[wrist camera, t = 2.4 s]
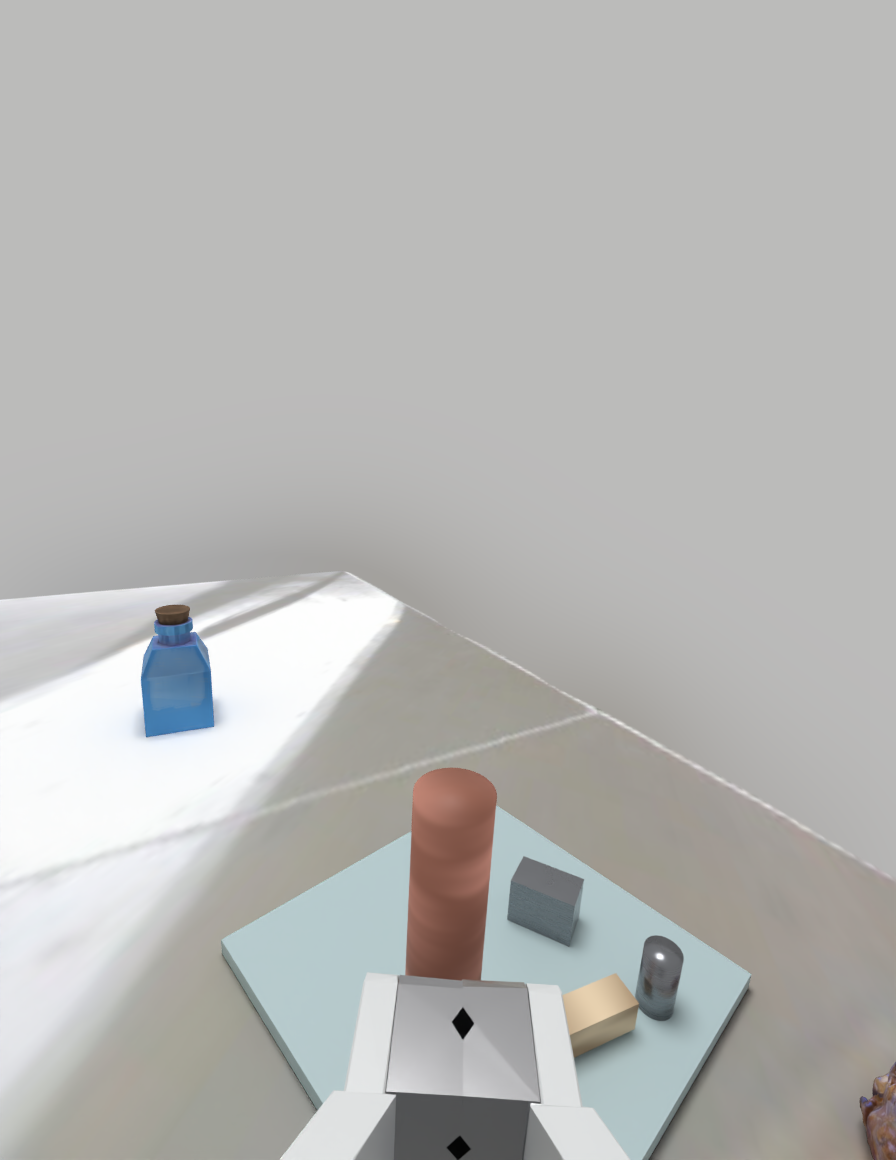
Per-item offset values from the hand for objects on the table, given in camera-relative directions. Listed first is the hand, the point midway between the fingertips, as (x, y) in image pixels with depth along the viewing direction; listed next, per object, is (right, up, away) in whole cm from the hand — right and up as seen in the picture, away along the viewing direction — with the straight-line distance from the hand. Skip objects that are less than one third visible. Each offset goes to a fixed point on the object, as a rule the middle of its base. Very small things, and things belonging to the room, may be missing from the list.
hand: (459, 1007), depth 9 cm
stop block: (+6, -16, +27) cm, 32 cm away
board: (+2, -16, +25) cm, 30 cm away
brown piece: (+3, -17, +19) cm, 25 cm away
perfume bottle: (-28, -8, +51) cm, 59 cm away
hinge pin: (+11, -18, +22) cm, 31 cm away
